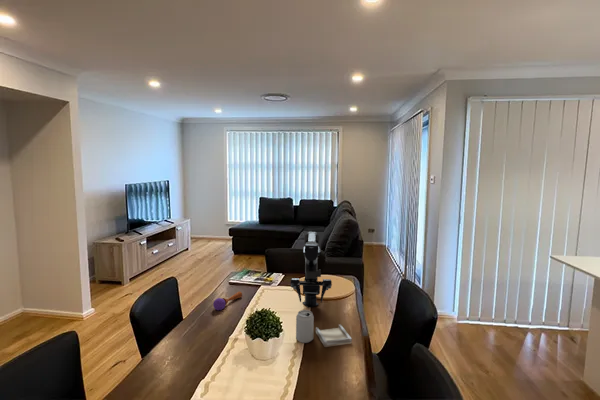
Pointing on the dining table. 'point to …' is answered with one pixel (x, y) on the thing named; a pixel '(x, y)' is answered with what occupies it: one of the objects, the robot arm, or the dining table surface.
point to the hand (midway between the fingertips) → (310, 302)
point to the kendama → (225, 301)
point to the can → (304, 326)
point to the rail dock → (334, 336)
